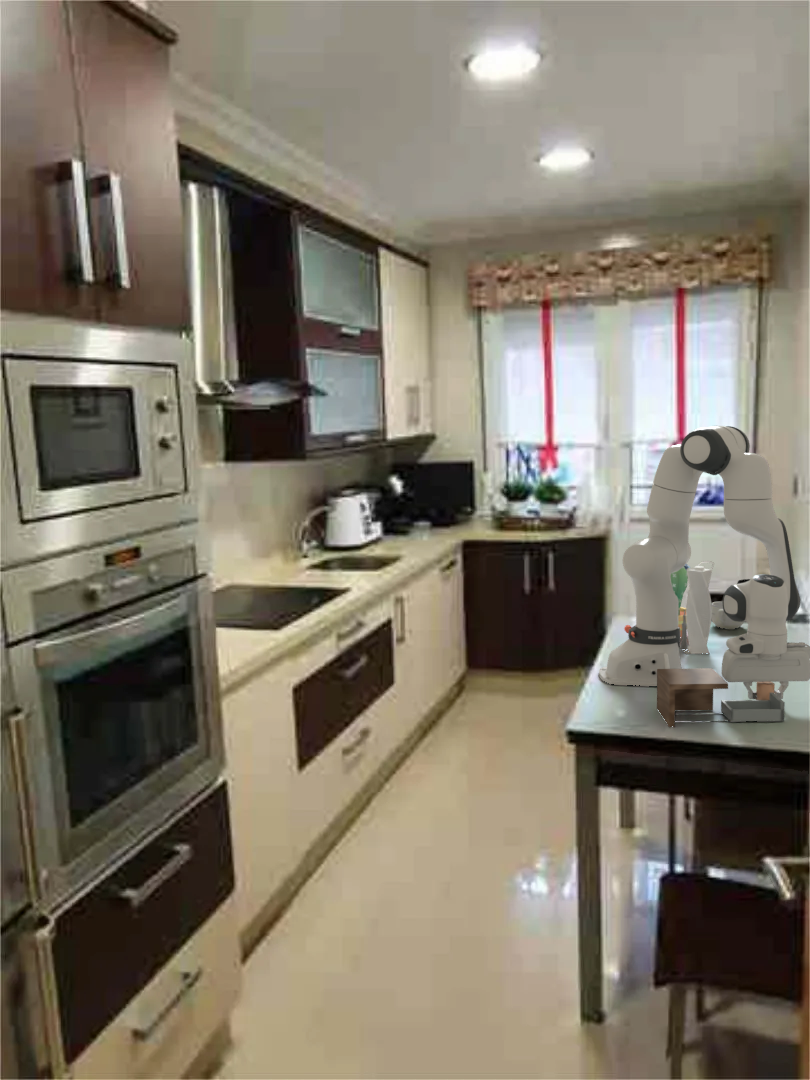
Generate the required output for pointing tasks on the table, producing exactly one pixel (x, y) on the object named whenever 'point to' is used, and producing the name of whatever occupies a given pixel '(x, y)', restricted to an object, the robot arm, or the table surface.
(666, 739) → the table surface
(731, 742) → the table surface
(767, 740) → the table surface
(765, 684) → the peach cylinder
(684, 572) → the potted cactus
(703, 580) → the skyscraper
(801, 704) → the table surface
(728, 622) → the teacup
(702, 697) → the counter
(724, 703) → the tray
